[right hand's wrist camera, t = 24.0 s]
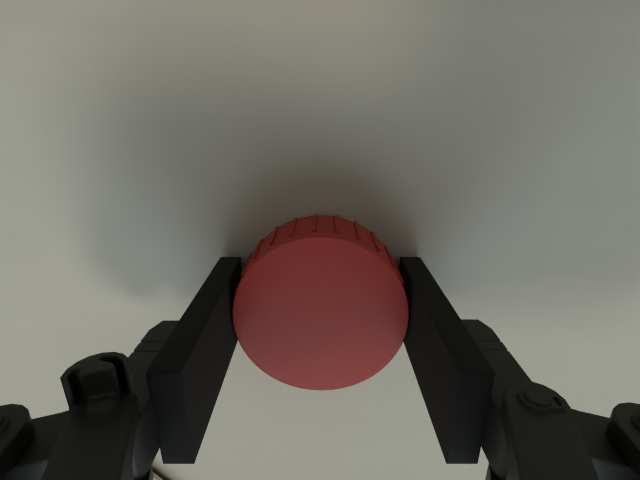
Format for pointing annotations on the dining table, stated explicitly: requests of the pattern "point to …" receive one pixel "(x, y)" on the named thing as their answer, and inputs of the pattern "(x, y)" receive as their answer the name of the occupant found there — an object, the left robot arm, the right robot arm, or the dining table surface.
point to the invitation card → (156, 477)
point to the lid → (320, 304)
